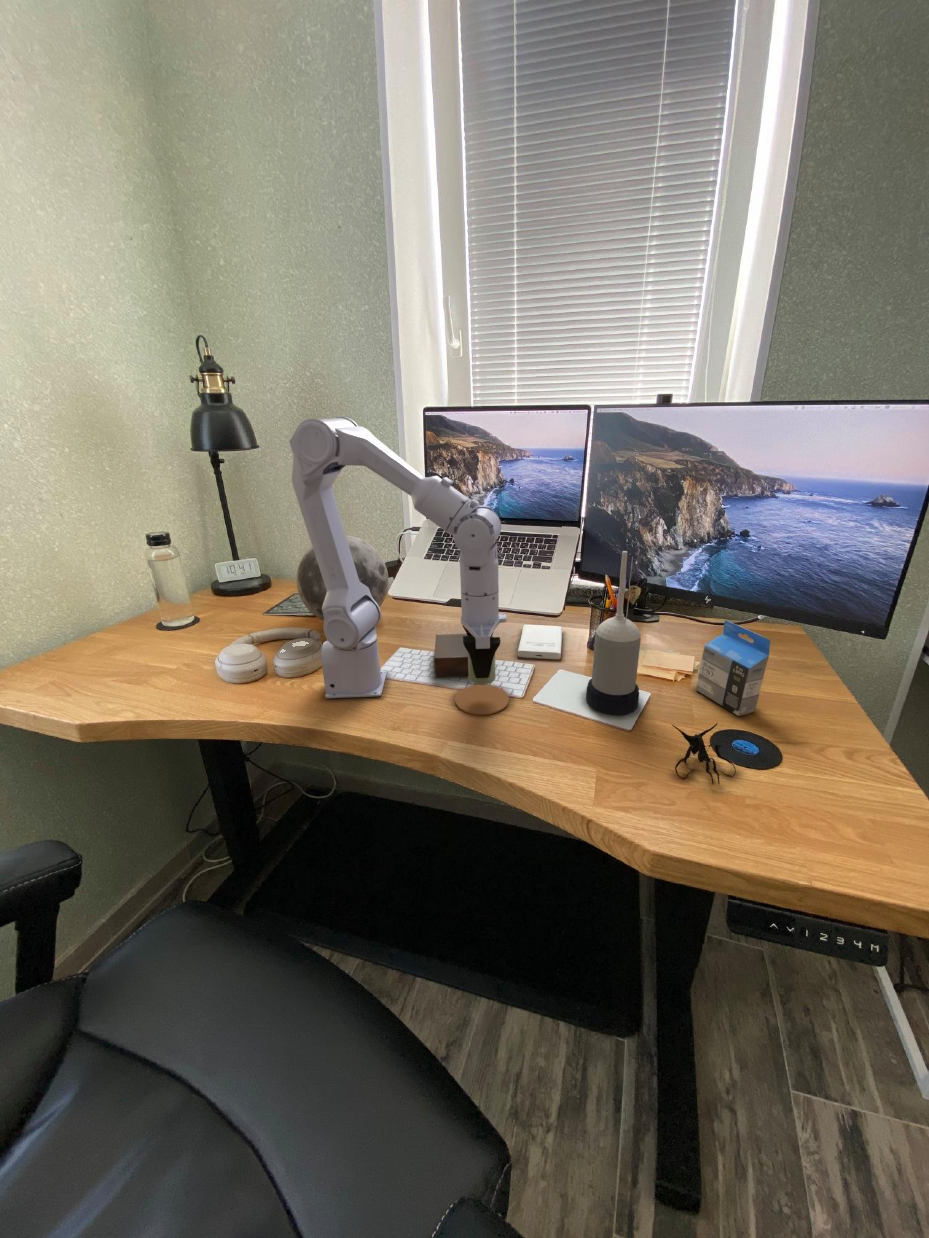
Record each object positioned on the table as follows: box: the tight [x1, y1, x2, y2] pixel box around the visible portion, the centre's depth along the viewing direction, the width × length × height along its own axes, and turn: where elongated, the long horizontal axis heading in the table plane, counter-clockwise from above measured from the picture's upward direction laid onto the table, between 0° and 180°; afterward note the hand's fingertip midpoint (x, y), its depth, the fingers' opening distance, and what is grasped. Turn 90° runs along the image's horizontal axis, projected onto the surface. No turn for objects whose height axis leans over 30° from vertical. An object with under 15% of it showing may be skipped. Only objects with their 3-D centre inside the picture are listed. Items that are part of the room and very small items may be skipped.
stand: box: [433, 633, 468, 679], centre depth 95 cm, size 10×10×4 cm
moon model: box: [295, 534, 389, 622], centre depth 113 cm, size 20×20×20 cm
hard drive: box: [517, 624, 563, 660], centre depth 102 cm, size 2×8×12 cm
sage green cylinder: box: [467, 635, 496, 685], centre depth 81 cm, size 4×4×7 cm
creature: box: [671, 722, 737, 786], centre depth 65 cm, size 8×5×8 cm
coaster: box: [454, 684, 510, 716], centre depth 84 cm, size 9×9×1 cm
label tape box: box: [695, 619, 771, 717], centre depth 79 cm, size 9×4×12 cm, turn 21°
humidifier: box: [585, 550, 642, 717], centre depth 77 cm, size 8×8×25 cm
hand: (481, 669), depth 81 cm, fingers closed on sage green cylinder, 4 cm apart
